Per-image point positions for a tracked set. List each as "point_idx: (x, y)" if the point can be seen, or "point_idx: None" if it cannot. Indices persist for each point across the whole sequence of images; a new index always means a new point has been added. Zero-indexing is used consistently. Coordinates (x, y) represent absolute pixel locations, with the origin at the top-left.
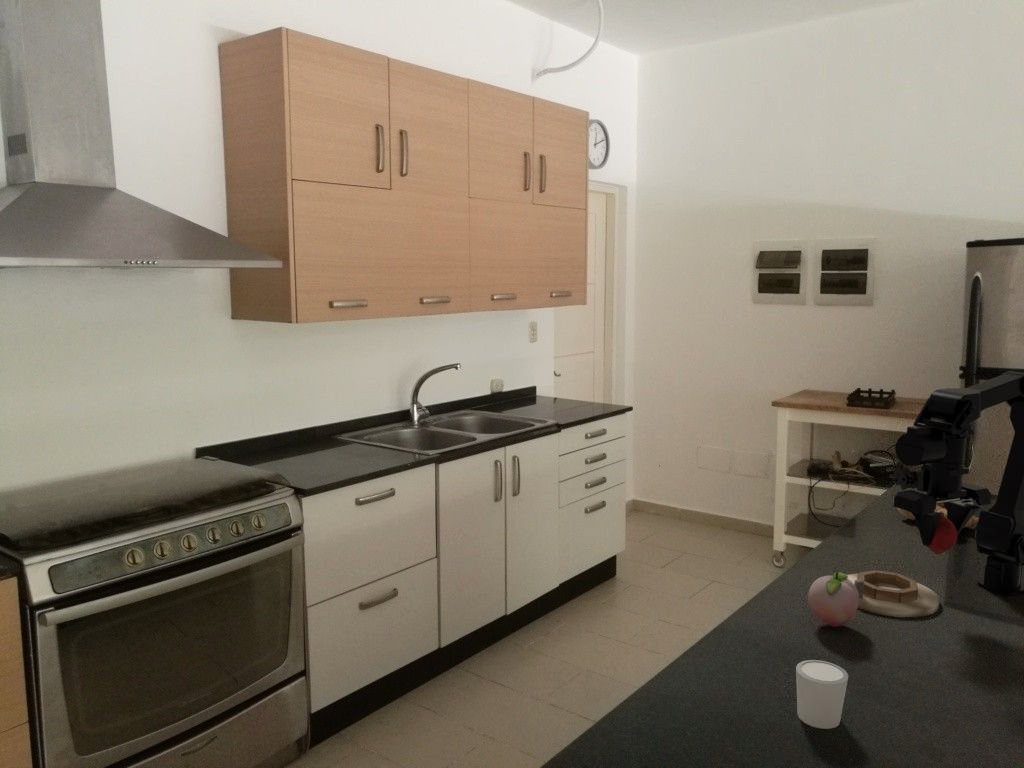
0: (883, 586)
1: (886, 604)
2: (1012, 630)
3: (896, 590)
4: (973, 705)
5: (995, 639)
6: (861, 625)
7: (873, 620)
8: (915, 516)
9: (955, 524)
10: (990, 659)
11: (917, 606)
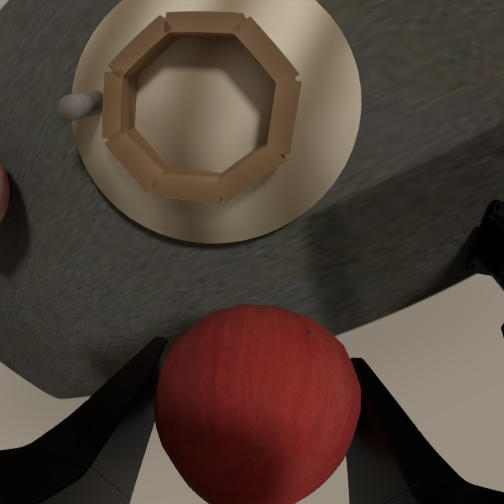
0: (228, 72)
1: (122, 173)
2: None
3: (152, 176)
4: (66, 373)
5: None
6: (42, 197)
7: (72, 191)
8: (32, 452)
9: (360, 462)
10: None
11: (188, 219)
